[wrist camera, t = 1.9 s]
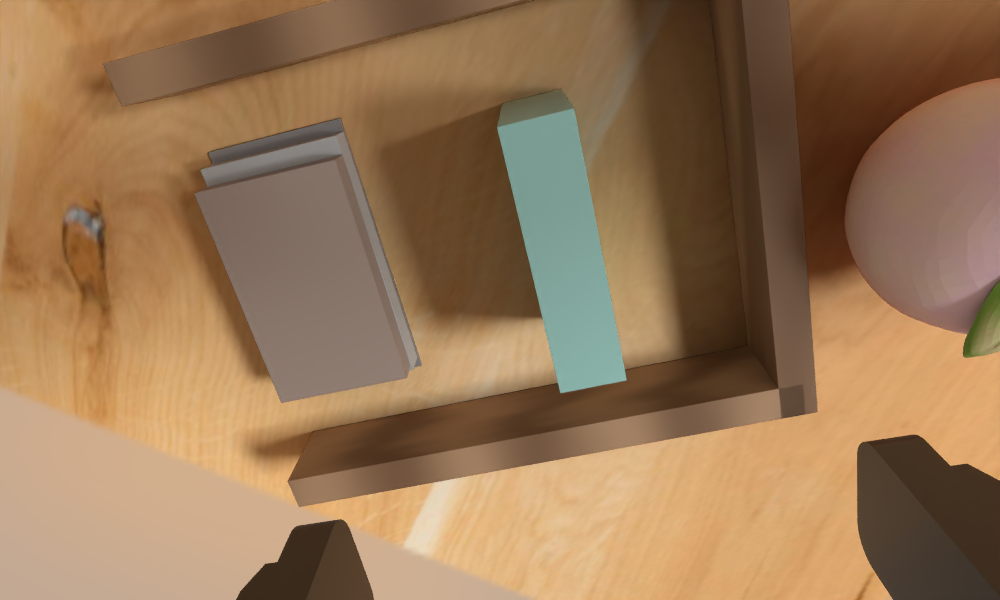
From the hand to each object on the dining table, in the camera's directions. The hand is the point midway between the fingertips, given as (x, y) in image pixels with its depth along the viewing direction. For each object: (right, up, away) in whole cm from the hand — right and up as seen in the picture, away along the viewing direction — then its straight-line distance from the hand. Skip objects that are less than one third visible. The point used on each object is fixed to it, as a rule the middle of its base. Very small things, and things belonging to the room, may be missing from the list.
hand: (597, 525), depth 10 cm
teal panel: (+1, +7, +19) cm, 20 cm away
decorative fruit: (+16, +9, +18) cm, 25 cm away
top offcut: (-10, +4, +19) cm, 22 cm away
